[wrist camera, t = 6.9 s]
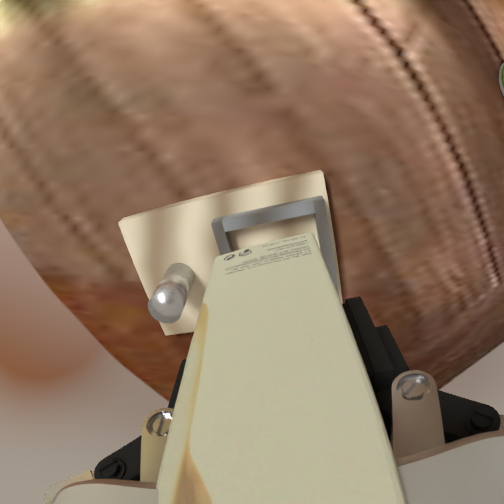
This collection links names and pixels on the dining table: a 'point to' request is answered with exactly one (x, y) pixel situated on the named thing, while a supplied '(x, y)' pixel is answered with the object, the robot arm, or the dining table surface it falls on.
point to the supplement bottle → (501, 78)
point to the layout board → (227, 232)
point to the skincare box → (276, 392)
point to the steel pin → (172, 293)
